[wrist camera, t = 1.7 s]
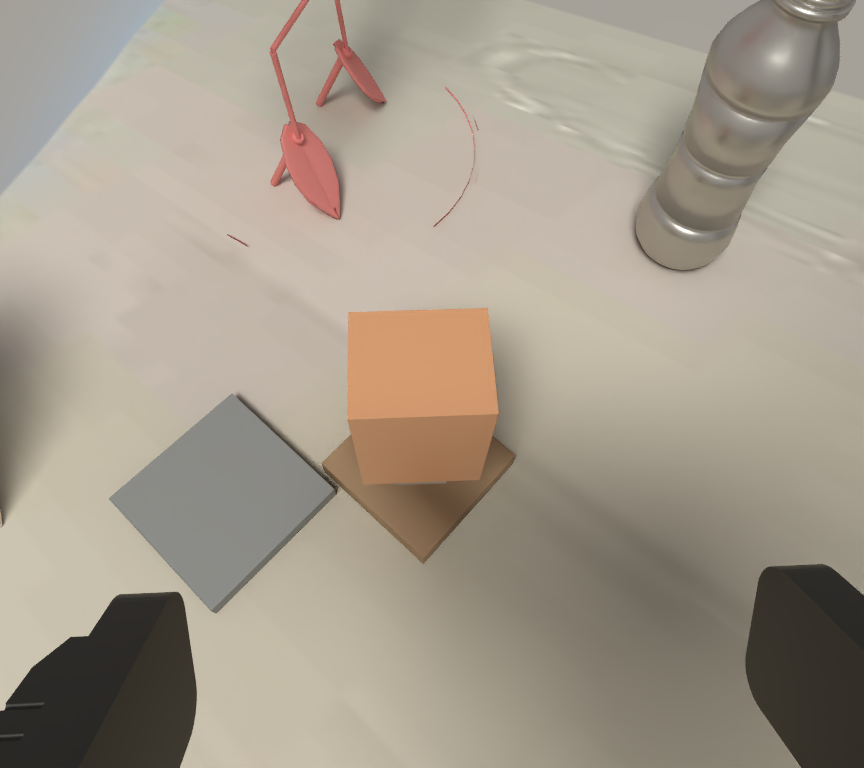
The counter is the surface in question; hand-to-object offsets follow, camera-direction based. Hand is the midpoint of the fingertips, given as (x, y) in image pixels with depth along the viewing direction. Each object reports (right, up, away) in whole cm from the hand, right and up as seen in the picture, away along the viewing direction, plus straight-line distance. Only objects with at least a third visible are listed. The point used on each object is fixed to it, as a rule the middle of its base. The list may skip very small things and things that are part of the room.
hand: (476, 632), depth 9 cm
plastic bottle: (+17, +14, +38) cm, 44 cm away
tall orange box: (-1, +1, +25) cm, 25 cm away
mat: (-13, -3, +28) cm, 31 cm away
